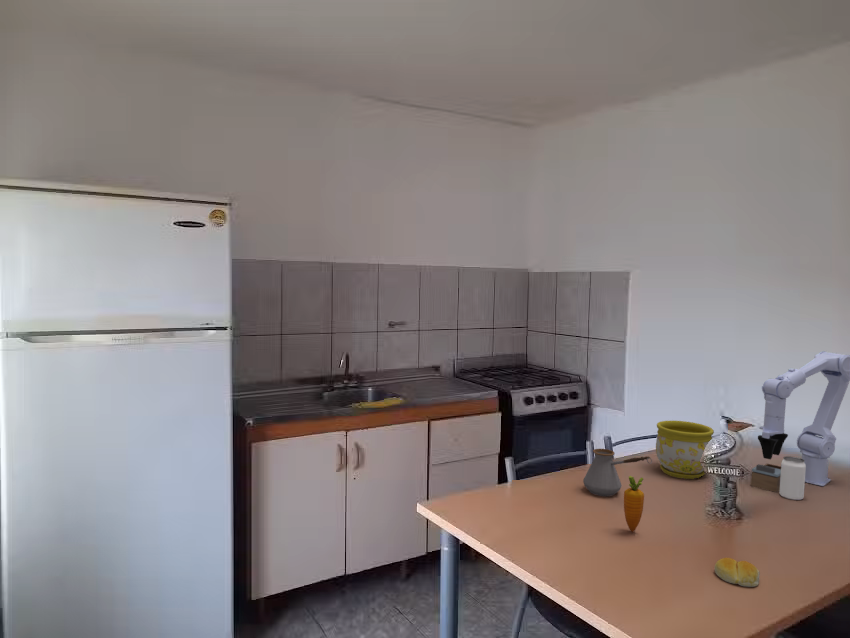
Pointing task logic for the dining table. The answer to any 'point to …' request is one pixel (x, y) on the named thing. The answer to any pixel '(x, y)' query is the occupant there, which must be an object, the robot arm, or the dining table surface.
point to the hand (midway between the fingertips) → (771, 456)
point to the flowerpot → (682, 447)
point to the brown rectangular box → (766, 480)
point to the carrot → (633, 504)
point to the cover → (767, 470)
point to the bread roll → (737, 572)
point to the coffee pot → (605, 473)
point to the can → (792, 478)
